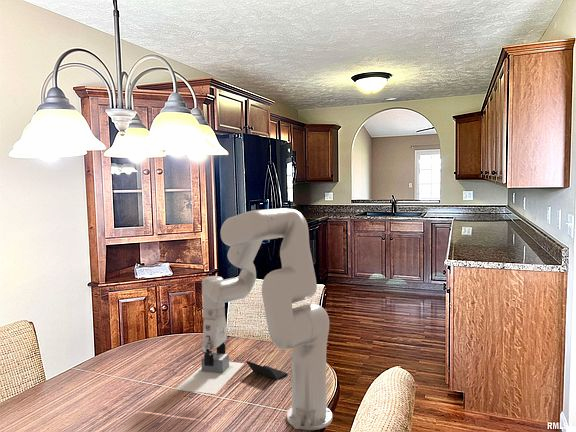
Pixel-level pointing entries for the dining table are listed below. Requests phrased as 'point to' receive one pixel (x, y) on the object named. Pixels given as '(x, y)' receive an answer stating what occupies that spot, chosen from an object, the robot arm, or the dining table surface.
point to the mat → (209, 380)
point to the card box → (217, 363)
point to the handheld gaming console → (267, 371)
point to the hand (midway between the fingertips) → (215, 360)
